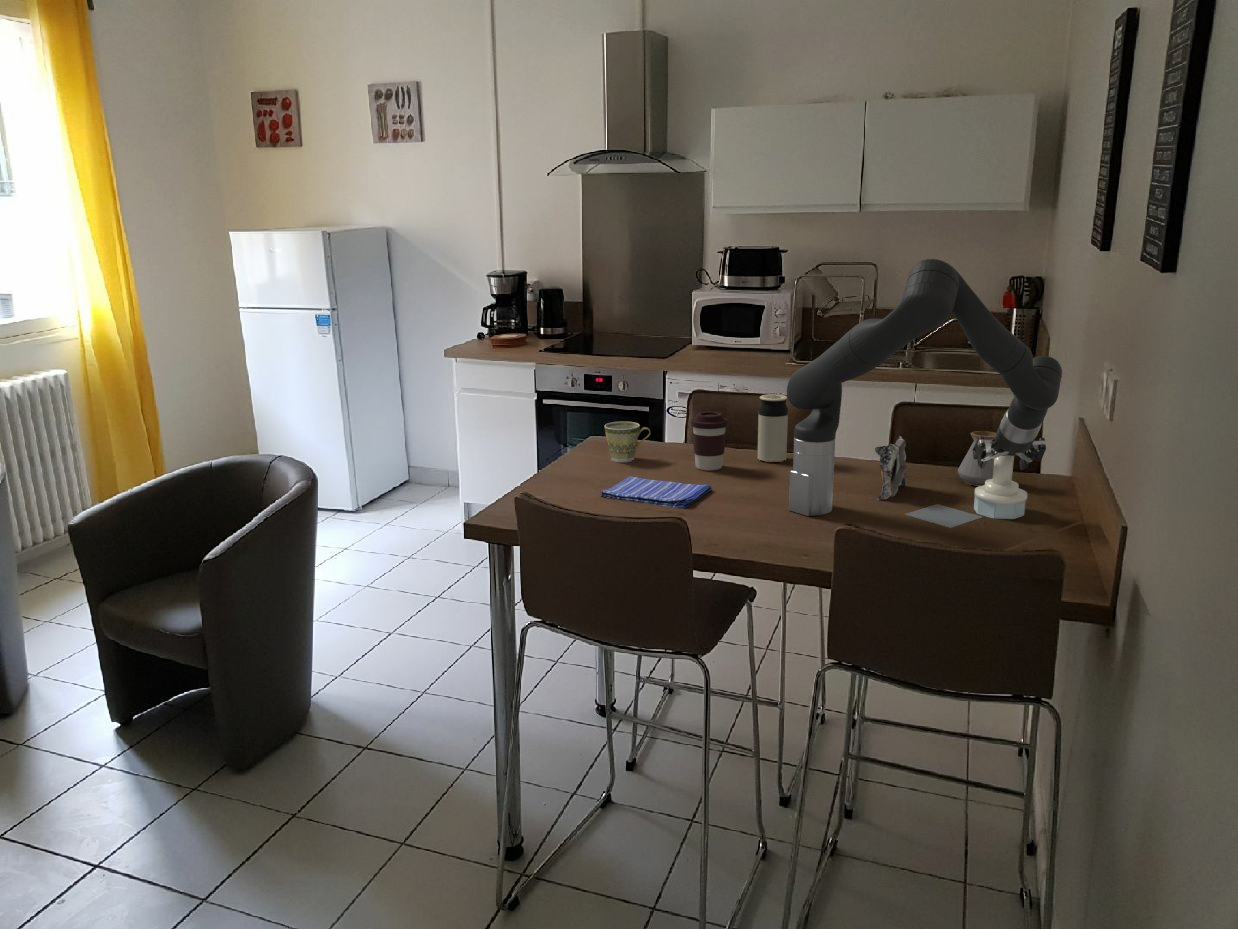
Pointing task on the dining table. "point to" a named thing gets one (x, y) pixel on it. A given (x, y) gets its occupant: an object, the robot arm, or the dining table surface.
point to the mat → (943, 515)
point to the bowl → (999, 509)
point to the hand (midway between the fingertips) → (1001, 465)
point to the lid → (1001, 484)
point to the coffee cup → (709, 440)
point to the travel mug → (772, 428)
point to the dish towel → (656, 492)
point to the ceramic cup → (623, 440)
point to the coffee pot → (976, 463)
